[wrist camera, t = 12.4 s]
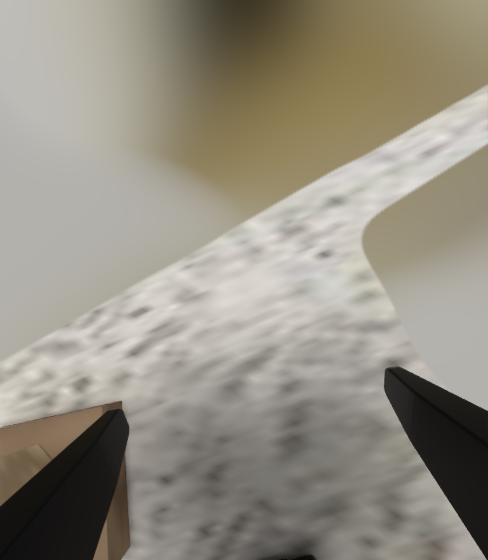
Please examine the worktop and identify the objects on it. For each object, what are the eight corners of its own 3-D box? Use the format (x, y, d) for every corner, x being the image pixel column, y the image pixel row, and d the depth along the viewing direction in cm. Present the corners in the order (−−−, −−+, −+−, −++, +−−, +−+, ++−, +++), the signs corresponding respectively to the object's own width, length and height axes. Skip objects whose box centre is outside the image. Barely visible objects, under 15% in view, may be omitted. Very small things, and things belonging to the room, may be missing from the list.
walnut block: (133, 541, 20) (108, 577, 17) (-1, 573, 20) (-53, 616, 16) (124, 400, 23) (102, 406, 20) (8, 425, 23) (-34, 436, 19)
